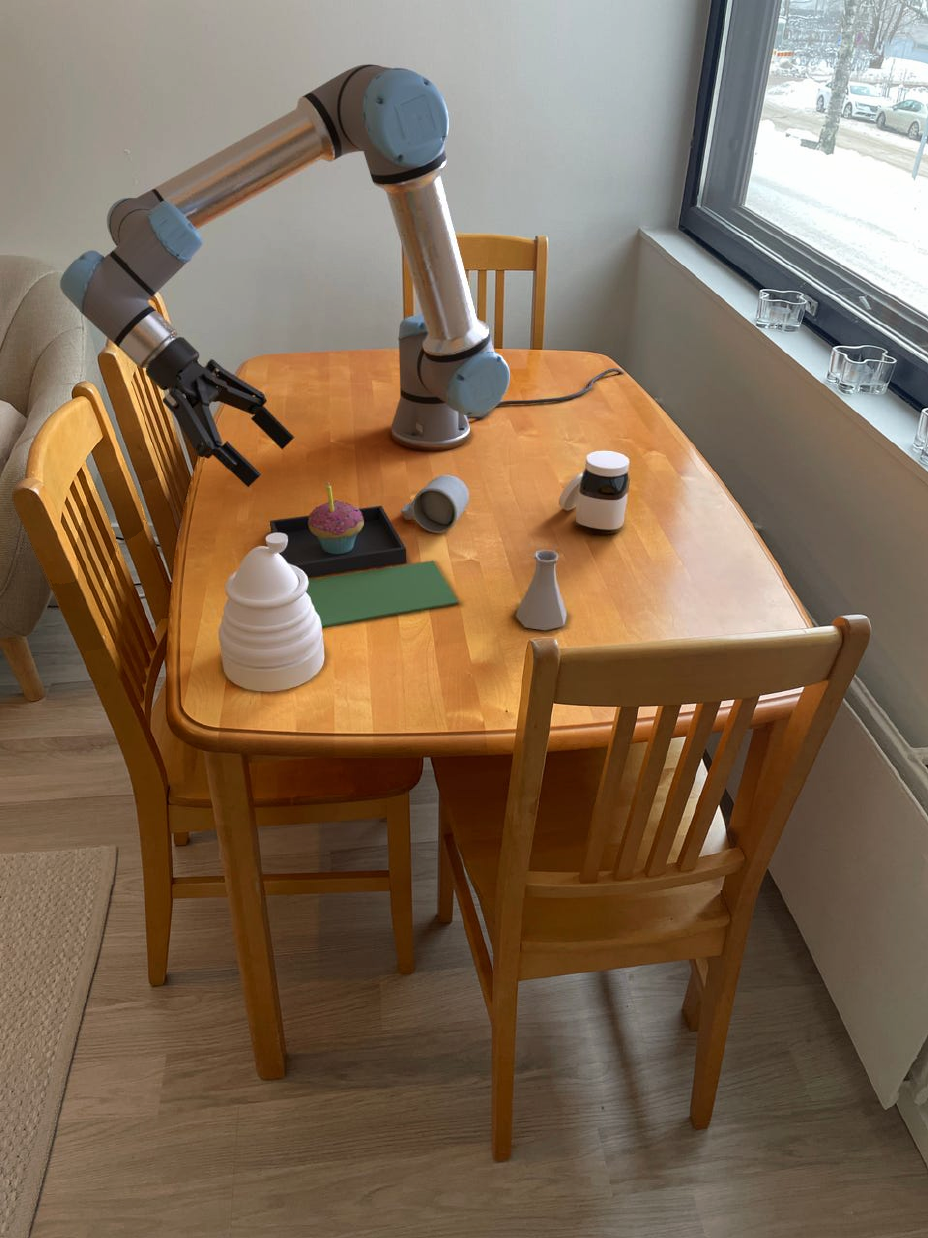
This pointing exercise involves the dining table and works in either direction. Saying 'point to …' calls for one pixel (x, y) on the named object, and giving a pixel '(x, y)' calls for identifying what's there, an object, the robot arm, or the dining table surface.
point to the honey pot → (270, 623)
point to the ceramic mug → (438, 504)
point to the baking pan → (369, 551)
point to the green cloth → (379, 593)
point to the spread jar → (599, 493)
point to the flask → (543, 596)
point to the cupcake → (335, 524)
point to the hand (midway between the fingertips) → (272, 461)
